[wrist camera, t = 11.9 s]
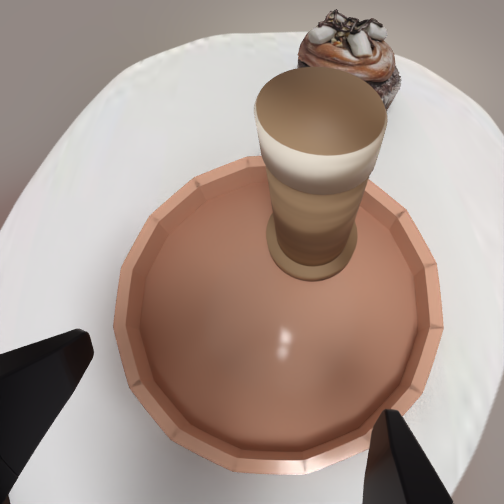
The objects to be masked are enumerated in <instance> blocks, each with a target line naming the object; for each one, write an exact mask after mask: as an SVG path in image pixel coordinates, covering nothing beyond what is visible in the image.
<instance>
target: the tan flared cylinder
mask: <svg viewBox="0 0 504 504" xmlns="http://www.w3.org/2000/svg"><path fill="white" fill-rule="evenodd" d="M254 115H255V121H256V126H257V132H258V138H259V143H260V149H261V154H262V158H263V161H264V163H265V165H266V172H267V178H268V184H269V191H270V197H271V204H272V210H273V213H272V214H271V216H270V218H269V221H268V224H267V229H266V239H267V244H268V249H269V252H270V255H271V257H272V259H273V261H274V262H275V264H276V265H277V266H278V267H279V268H280V269H281V270H282V271H283V272H284V273H286V274H287V275H289V276H291V277H293V278H295V279H298V280H302V281H308V282H317V281H323V280H326V279H329V278H331V277H333V276H335V275H337V274H338V273H340V272H341V271H342V270H343V269H344V268H345V267H346V266H347V264H348V263H349V261H350V260H351V257H352V255H353V253H354V251H355V248H356V245H357V238H358V236H357V227H356V223H355V218H356V215H357V212H358V209H359V206H360V203H361V200H362V197H363V194H364V191H365V188H366V185H367V182H368V178H369V175H370V174H371V172H372V171H373V169H374V166H375V164H376V160H377V157H378V154H379V151H380V147H381V144H382V140H383V137H384V134H385V130H386V126H387V112H386V109H385V106H384V104H383V101H382V99H381V98H380V96H379V95H378V93H377V92H376V91H375V90H374V89H373V88H372V87H371V86H370V85H369V84H368V83H366V82H365V81H363V80H362V79H360V78H358V77H356V76H354V75H352V74H350V73H347V72H345V71H341V70H338V69H333V68H327V67H303V68H297V69H293V70H290V71H287V72H284V73H281V74H280V75H278V76H276V77H274V78H273V79H271V80H270V81H269V82H268V83H266V84H265V86H264V87H263V88H262V89H261V91H260V93H259V95H258V96H257V98H256V101H255V105H254Z"/></svg>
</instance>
